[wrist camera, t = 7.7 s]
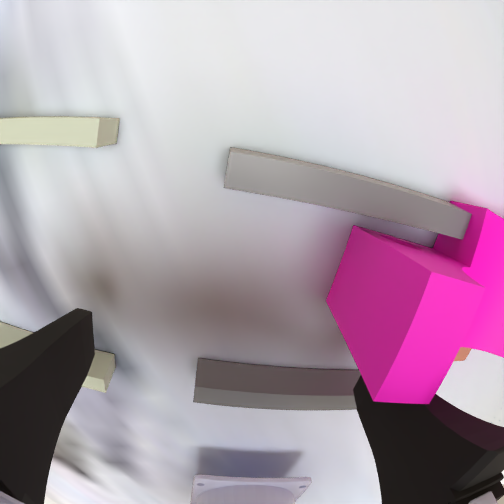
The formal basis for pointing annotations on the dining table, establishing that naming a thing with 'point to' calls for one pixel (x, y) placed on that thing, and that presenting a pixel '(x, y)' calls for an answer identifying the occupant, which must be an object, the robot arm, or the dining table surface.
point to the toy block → (419, 304)
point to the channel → (333, 196)
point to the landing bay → (62, 134)
